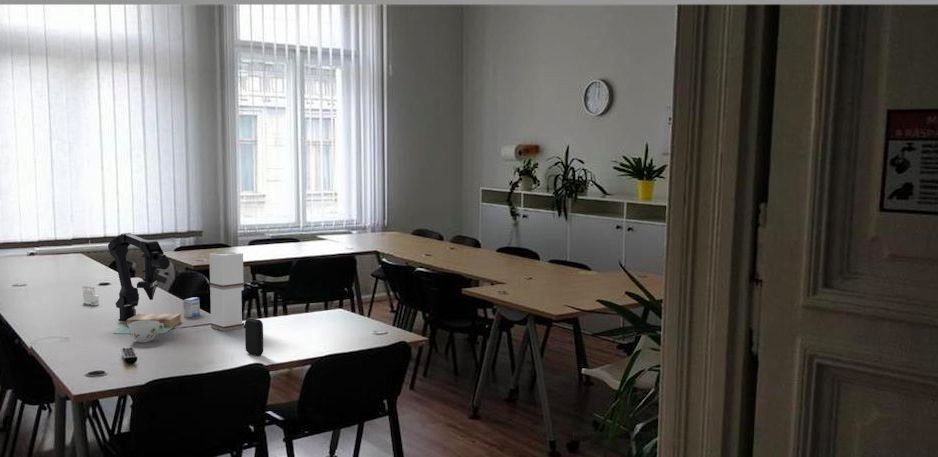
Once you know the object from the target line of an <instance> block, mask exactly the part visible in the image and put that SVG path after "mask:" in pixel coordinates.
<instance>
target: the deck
mask: <svg viewBox="0 0 938 457" xmlns="http://www.w3.org/2000/svg"><path fill="white" fill-rule="evenodd" d="M141 320H151V321H158V322H159V323H163V324H164V328H172V329H173V327H175V326H176V325H178V324H180V323H181V322H182V321H181V320H182V318H181V313H138V314H137V313H136V315H135V316H133V317H131V318H129V319H127V320H126V327H129V326H128V324H129V323H131V322H135V321H141ZM159 328H162V326H159Z"/></svg>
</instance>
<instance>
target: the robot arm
mask: <svg viewBox="0 0 938 457" xmlns="http://www.w3.org/2000/svg"><path fill="white" fill-rule="evenodd" d="M131 245H132V246H134V247H136V248H138V249H139V250H140V252H142V253H143V254H142V255H141V258H143V259H144V260H143V261H144V262H143V263H144V264H143V265H144V266H143V267H144V268H143V270H142V273H144V275H143V276H144V278H142V280H140V281H138V282H137V283H136V287H134V285H133V282H132V278H131V273H130V270H129V265H128V260H127V255H128V252H129V246H131ZM107 248H108V250H109V254H110V256H111V257H113V259H114V260H115V263H116V269H117V273H118V274H117V275H118V278H119V279H118V280H119V282H120V290H119V294H118V296H119V298H118V299H117V301H116V302H115V306H116V308H117V309H119V318H118V321H127V319H129V318H131V317H133V316H135V315H137V309H135V308H136V307H138V306H139V302H140V293H139V290H138V289H143V291H144V292H145V293H146V295H147V297H148V298H149V300H150V301H152V300H154V296H155V293H156V289H157V288H158V287H160V285H161V284H158V282H160V283H162V284H167V283H169V281H170V279H171V274H170V272H169V271H165V270H167V269H169V267H170V266H171V265H170V264H171V262H170V259H169V258H168V257H167V255H166V254H164V251H163V249H162V247H161V245H160V244H159V241H157V240H152V239H144V238H142V237H140V236H137V235H134V234H133V233H131V232H125V233H124V232H123V233H121V234H120V235H119V236H117V237H116V238H113V239H112V240H110V241H109V243H108V245H107ZM161 270H164V271H165V272H160V271H161Z"/></svg>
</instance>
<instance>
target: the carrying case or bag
mask: <svg viewBox="0 0 938 457" xmlns="http://www.w3.org/2000/svg"><path fill="white" fill-rule="evenodd" d="M243 329H244V331H245V332H244V336H245V338H244V340H245V343H244V344H245V352H247V354H250V355H254V356H257V357H261V356H262V355H263V354H264V323H263V321H262V320H260V319H257V318H251V317H248V318H246V320H245V322H244V328H243Z"/></svg>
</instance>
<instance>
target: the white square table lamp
mask: <svg viewBox="0 0 938 457" xmlns="http://www.w3.org/2000/svg"><path fill="white" fill-rule="evenodd" d="M244 284H245V283H244V253H242V252H237V251H228V254H219V253H212V252H210V253H209V290H210V292H209V293H210V298H209V300H210V327H212V328H213V329H215V328H216V330H218V329H219V330H218V331H222V332H225V331H226V330H227V331H232V329H233V330H239V329H244V325H245V322H243V312H242V311H243V310H242V307H243V303H242V301H243V299H242V296H243V295H242V291H244V290H245V288H244V286H245V285H244ZM238 328H239V329H238ZM227 331H226V332H227Z"/></svg>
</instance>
